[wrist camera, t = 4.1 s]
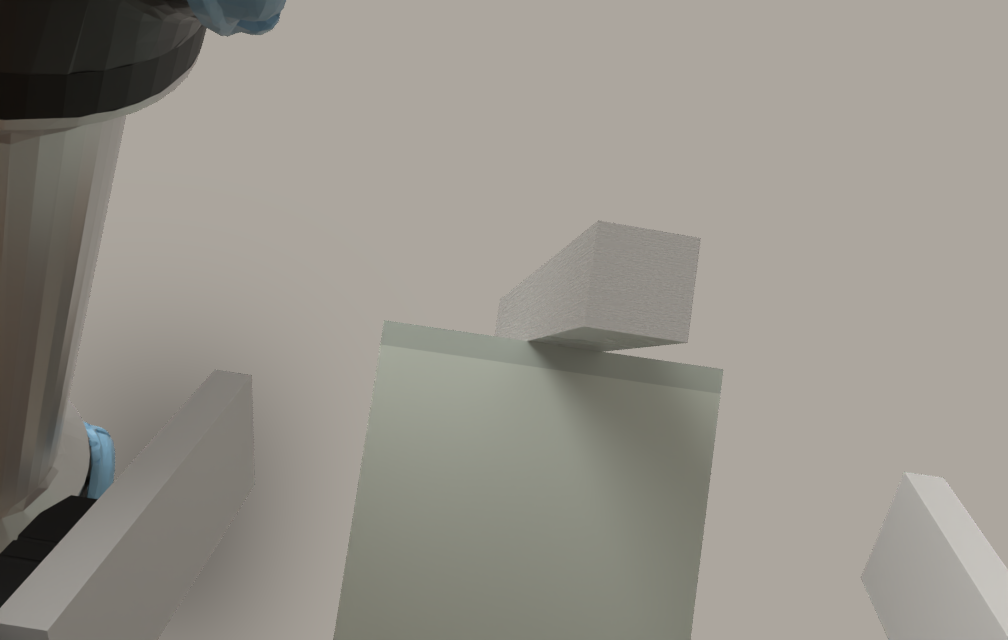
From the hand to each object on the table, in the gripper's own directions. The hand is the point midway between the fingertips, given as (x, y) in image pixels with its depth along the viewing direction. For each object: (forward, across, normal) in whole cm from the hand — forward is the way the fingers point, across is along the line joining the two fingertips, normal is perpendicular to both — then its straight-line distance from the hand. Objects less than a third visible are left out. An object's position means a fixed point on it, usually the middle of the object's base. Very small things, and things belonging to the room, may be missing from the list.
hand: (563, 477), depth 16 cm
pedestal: (+6, 0, -34) cm, 34 cm away
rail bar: (+17, 0, -6) cm, 18 cm away
